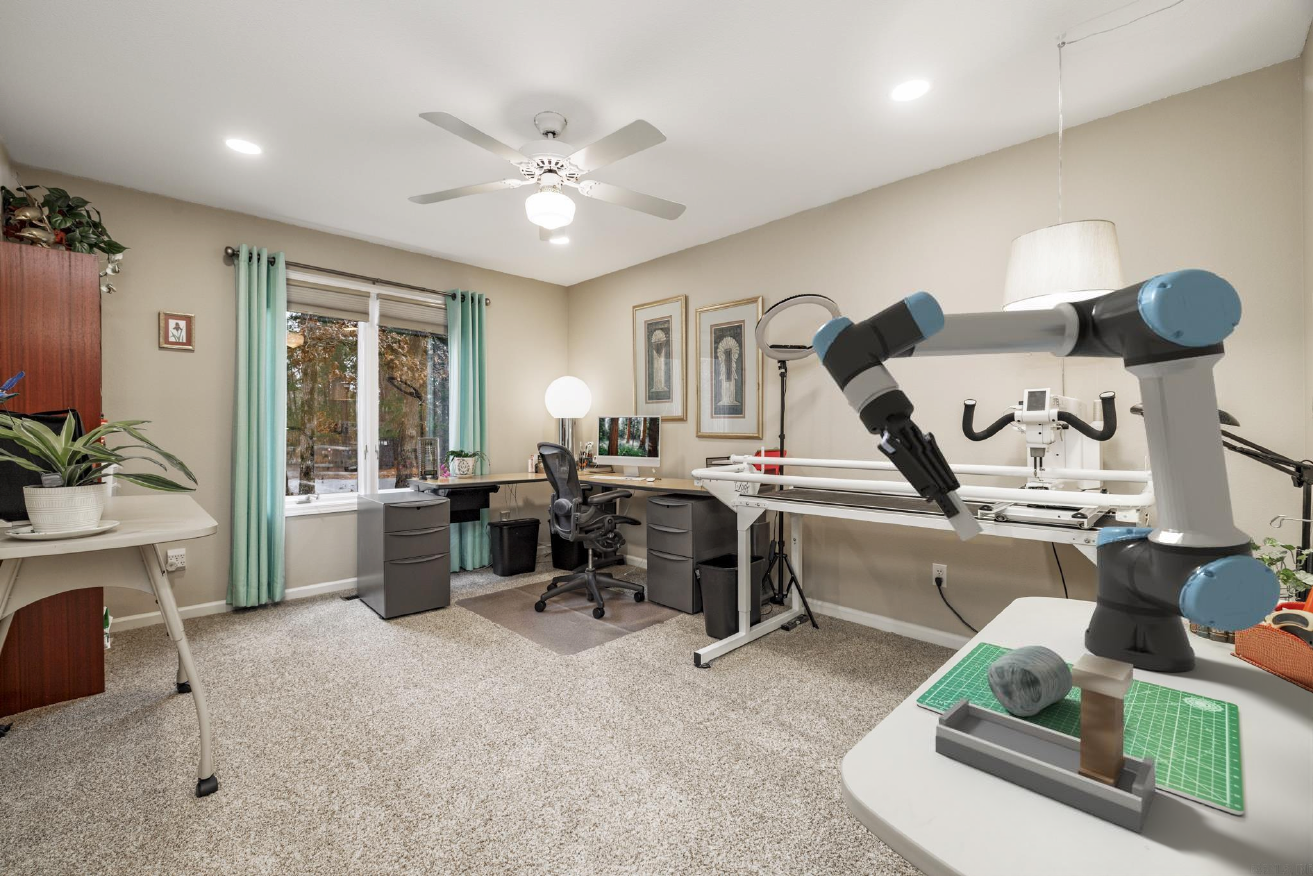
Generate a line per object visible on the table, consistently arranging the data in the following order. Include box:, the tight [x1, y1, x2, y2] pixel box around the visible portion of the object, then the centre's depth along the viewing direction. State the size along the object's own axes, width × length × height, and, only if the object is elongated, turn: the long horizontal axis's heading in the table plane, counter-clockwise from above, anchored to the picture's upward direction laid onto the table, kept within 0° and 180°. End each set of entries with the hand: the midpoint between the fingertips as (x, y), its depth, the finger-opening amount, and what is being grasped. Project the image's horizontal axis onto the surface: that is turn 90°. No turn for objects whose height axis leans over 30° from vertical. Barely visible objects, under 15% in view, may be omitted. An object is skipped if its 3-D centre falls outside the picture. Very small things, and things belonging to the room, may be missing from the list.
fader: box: [1071, 652, 1134, 788], centre depth 64 cm, size 4×7×12 cm, turn 132°
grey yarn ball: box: [986, 645, 1073, 717], centre depth 85 cm, size 14×10×10 cm
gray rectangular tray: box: [935, 696, 1156, 834], centre depth 69 cm, size 20×10×4 cm, turn 42°
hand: (973, 535), depth 80 cm, fingers closed
